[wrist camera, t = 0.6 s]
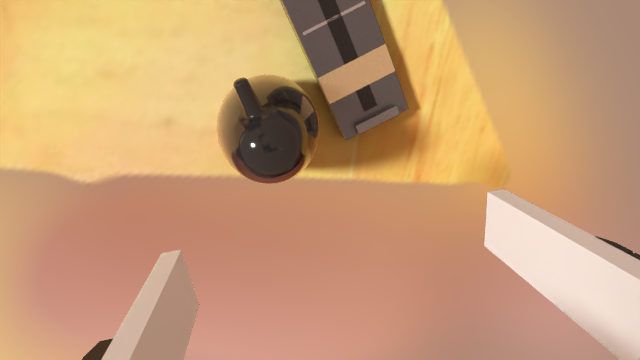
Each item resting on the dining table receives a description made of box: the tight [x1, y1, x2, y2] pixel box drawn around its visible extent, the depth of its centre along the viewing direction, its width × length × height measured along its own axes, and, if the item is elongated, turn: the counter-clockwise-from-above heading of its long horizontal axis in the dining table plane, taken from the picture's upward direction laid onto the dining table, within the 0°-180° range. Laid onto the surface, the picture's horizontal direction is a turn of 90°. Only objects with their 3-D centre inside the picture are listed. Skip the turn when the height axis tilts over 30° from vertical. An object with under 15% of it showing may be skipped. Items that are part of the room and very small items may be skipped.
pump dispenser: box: [217, 75, 320, 184], centre depth 30 cm, size 10×10×15 cm
